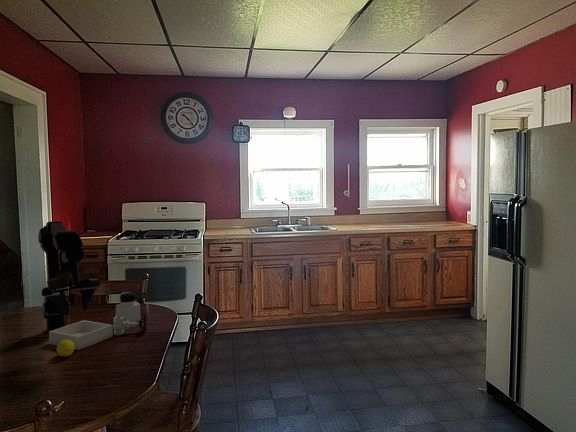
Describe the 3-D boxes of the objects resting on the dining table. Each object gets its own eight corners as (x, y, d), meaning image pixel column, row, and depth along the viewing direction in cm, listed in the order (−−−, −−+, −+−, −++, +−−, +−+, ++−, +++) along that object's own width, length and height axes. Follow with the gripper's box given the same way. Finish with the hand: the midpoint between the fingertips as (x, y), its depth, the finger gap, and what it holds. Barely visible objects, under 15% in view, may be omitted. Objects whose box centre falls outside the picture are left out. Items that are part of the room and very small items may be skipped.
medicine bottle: (140, 320, 185) (140, 292, 184) (126, 324, 179) (125, 295, 178) (130, 317, 189) (129, 290, 188) (115, 321, 183) (115, 293, 182)
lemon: (55, 356, 146) (54, 340, 147) (73, 352, 149) (72, 337, 150) (58, 360, 141) (57, 343, 141) (77, 356, 144) (76, 339, 144)
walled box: (49, 343, 157) (48, 331, 157) (84, 331, 170) (83, 320, 170) (78, 350, 151) (78, 337, 150) (112, 336, 164) (112, 325, 164)
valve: (112, 337, 164) (146, 333, 168) (112, 320, 164) (145, 316, 167) (113, 331, 170) (146, 328, 174) (113, 315, 170) (145, 312, 174)
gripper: (27, 272, 143) (30, 320, 141) (76, 262, 139) (81, 311, 137) (52, 271, 154) (56, 316, 151) (98, 262, 150) (103, 307, 148)
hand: (73, 313), depth 147 cm, fingers open, 9 cm apart
